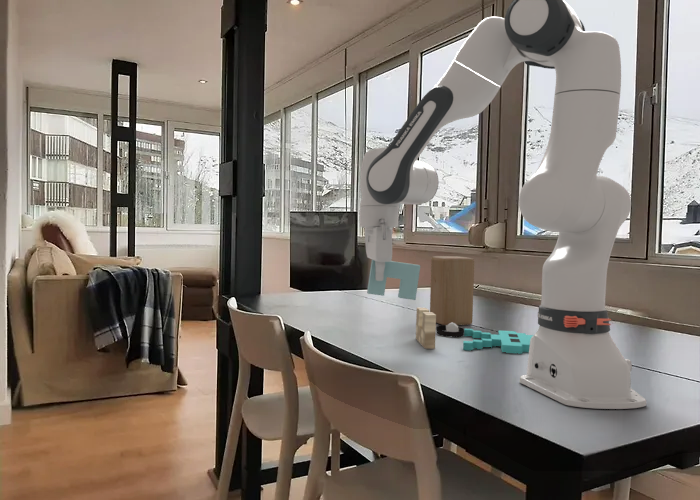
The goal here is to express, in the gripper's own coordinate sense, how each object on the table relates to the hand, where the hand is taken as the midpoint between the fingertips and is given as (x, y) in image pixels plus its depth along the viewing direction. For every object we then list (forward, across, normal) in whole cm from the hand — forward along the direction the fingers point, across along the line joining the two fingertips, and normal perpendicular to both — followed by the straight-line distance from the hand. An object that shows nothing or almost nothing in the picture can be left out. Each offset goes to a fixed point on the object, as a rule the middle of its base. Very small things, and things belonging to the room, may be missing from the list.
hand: (378, 279), depth 132 cm
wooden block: (+16, +39, -27) cm, 50 cm away
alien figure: (+17, +8, -33) cm, 38 cm away
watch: (+17, +20, -22) cm, 34 cm away
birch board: (+16, +8, -13) cm, 22 cm away
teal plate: (+4, 0, -3) cm, 5 cm away
